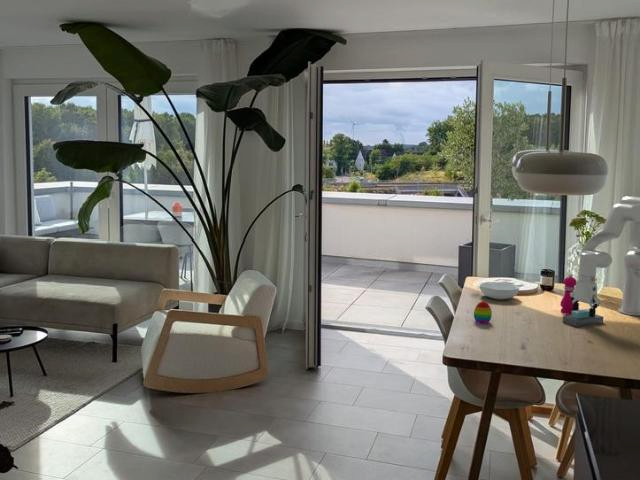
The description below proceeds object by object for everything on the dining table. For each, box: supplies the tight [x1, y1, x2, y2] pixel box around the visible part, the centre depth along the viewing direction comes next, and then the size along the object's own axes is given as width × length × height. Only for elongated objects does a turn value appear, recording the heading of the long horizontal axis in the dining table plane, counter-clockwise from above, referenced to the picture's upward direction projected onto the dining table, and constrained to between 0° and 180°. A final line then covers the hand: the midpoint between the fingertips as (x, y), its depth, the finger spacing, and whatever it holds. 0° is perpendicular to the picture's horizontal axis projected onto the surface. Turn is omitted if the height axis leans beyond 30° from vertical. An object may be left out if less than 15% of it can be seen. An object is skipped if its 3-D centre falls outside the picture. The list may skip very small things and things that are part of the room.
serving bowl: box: [479, 281, 520, 301], centre depth 359 cm, size 21×21×7 cm
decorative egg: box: [473, 300, 493, 324], centre depth 309 cm, size 8×8×10 cm
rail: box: [562, 314, 604, 328], centre depth 313 cm, size 18×8×3 cm, turn 117°
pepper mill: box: [559, 273, 577, 315], centre depth 329 cm, size 7×7×20 cm
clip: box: [570, 308, 597, 319], centre depth 313 cm, size 12×4×6 cm, turn 117°
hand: (583, 313), depth 313 cm, fingers open, 9 cm apart
